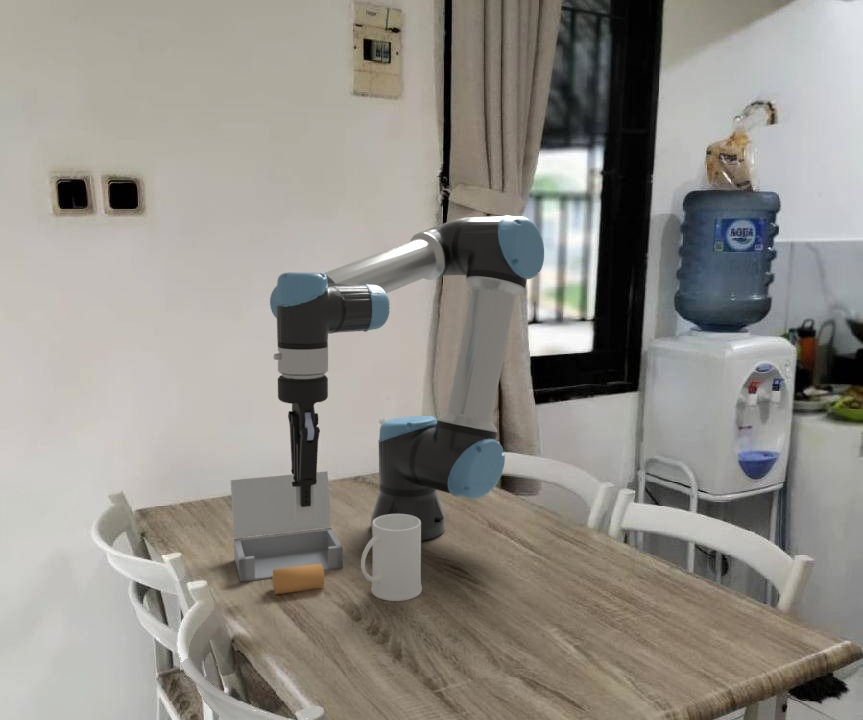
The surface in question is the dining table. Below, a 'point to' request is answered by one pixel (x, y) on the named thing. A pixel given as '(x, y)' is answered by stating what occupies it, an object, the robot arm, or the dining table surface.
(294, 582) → the tan foam roller
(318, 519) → the lid
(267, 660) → the dining table surface
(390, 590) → the mug
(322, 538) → the shallow grey tray
